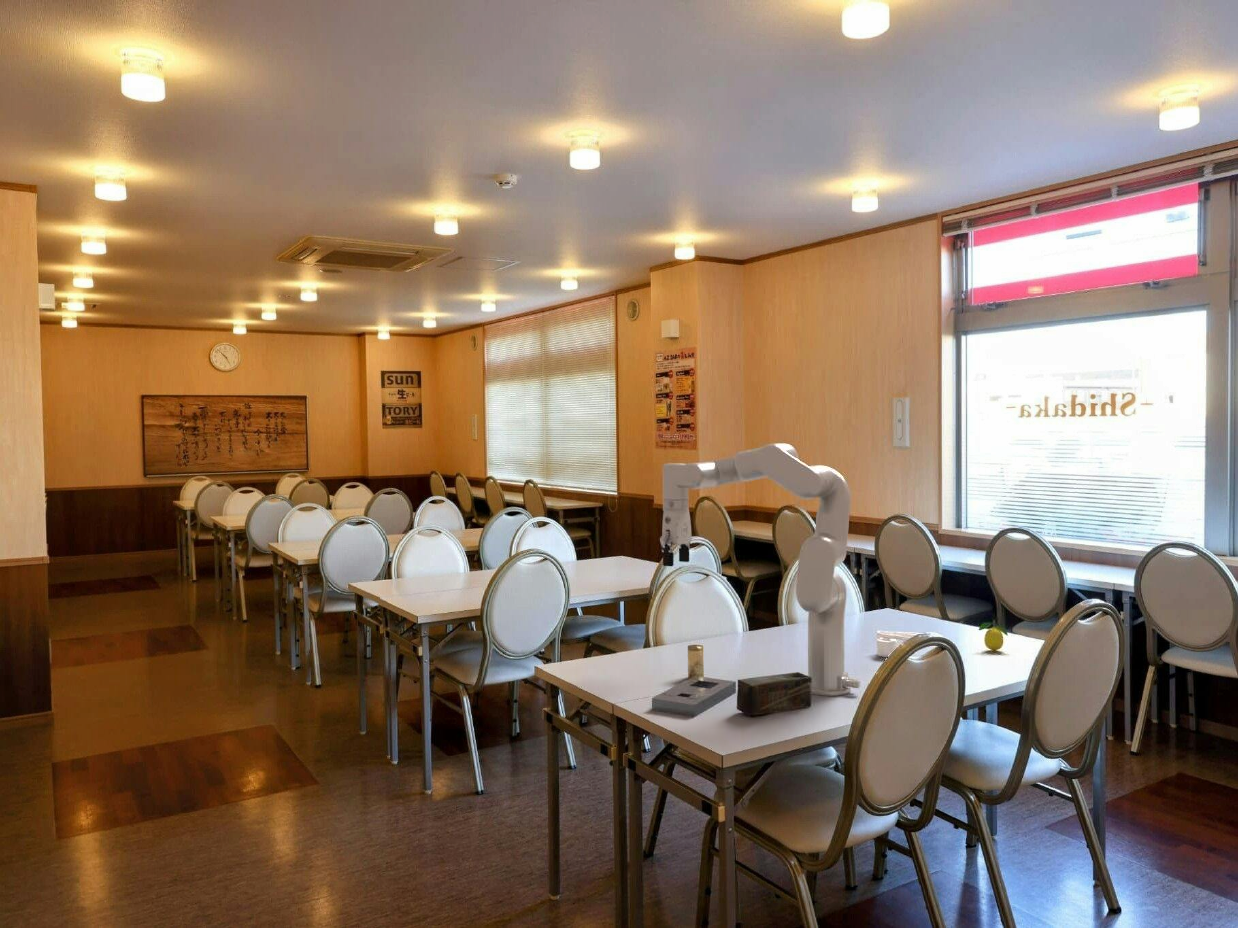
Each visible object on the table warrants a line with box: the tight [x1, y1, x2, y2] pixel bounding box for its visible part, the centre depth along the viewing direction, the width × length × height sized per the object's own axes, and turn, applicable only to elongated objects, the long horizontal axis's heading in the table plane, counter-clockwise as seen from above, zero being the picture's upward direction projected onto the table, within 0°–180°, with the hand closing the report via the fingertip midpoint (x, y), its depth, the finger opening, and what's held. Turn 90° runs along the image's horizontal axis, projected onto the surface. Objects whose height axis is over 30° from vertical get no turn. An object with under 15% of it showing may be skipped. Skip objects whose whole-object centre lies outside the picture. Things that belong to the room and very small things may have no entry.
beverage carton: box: [736, 671, 812, 717], centre depth 227 cm, size 8×19×7 cm
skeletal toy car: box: [876, 630, 924, 658], centre depth 276 cm, size 20×11×7 cm, turn 46°
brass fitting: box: [687, 644, 705, 680], centre depth 258 cm, size 4×4×9 cm
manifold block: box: [651, 676, 737, 718], centre depth 236 cm, size 12×24×3 cm, turn 148°
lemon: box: [978, 621, 1009, 653], centre depth 283 cm, size 7×6×10 cm
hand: (676, 563), depth 267 cm, fingers open, 9 cm apart
